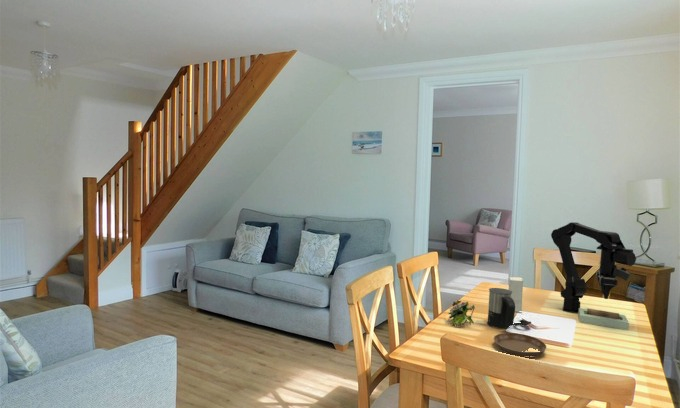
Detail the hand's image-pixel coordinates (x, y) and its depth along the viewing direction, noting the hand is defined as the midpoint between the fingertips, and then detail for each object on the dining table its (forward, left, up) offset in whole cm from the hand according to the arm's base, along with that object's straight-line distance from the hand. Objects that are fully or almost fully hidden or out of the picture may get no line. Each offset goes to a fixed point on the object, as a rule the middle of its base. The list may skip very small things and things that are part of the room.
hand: (604, 296), depth 196 cm
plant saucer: (-31, -53, -12) cm, 63 cm away
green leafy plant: (-54, -36, -12) cm, 66 cm away
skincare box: (-36, -3, -12) cm, 38 cm away
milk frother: (-37, -28, -12) cm, 48 cm away
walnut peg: (0, 0, -11) cm, 11 cm away
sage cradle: (0, 0, -12) cm, 12 cm away
